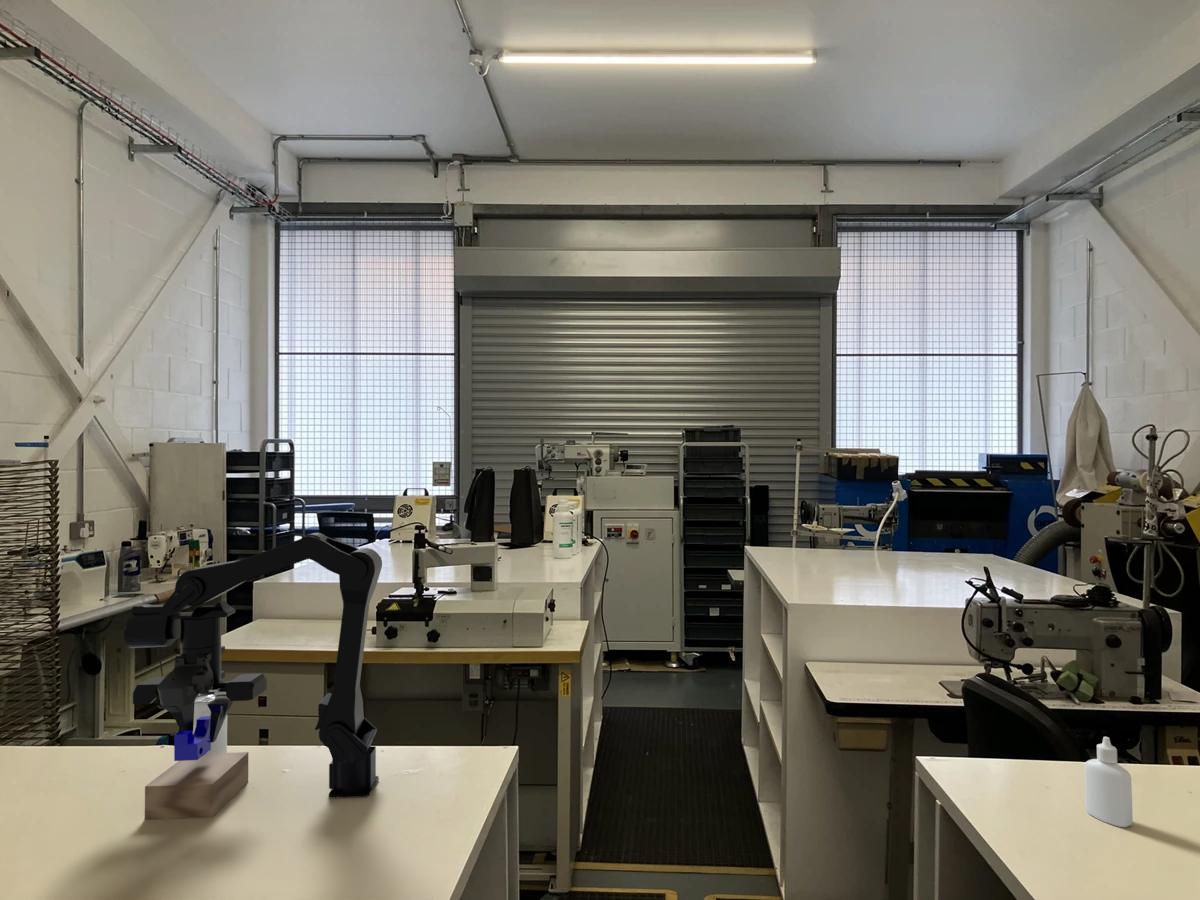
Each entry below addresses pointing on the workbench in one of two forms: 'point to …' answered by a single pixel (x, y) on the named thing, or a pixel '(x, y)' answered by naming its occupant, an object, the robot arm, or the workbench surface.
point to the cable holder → (193, 741)
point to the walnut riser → (196, 786)
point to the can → (204, 710)
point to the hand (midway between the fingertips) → (200, 741)
